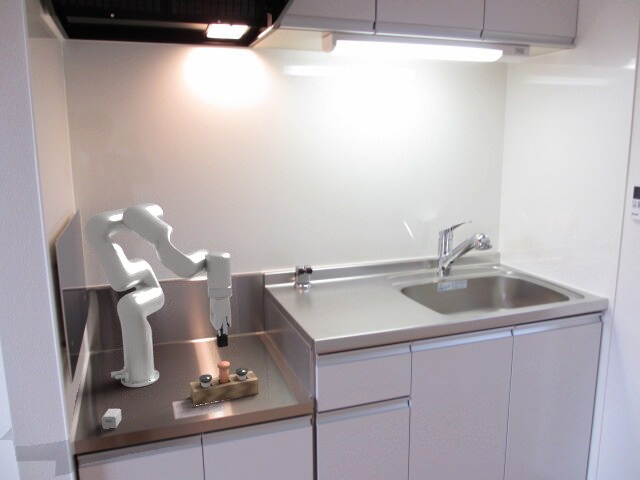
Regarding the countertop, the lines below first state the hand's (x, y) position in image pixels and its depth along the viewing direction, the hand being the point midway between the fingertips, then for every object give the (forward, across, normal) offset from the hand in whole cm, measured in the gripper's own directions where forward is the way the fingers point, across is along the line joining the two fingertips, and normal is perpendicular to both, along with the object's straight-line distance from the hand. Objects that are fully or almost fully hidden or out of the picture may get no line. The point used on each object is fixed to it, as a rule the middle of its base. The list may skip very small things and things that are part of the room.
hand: (222, 345), depth 165 cm
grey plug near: (+17, 0, -6) cm, 18 cm away
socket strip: (+17, 0, 0) cm, 17 cm away
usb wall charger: (+17, +2, -34) cm, 38 cm away
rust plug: (+13, 0, 0) cm, 13 cm away
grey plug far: (+17, 0, +6) cm, 18 cm away
